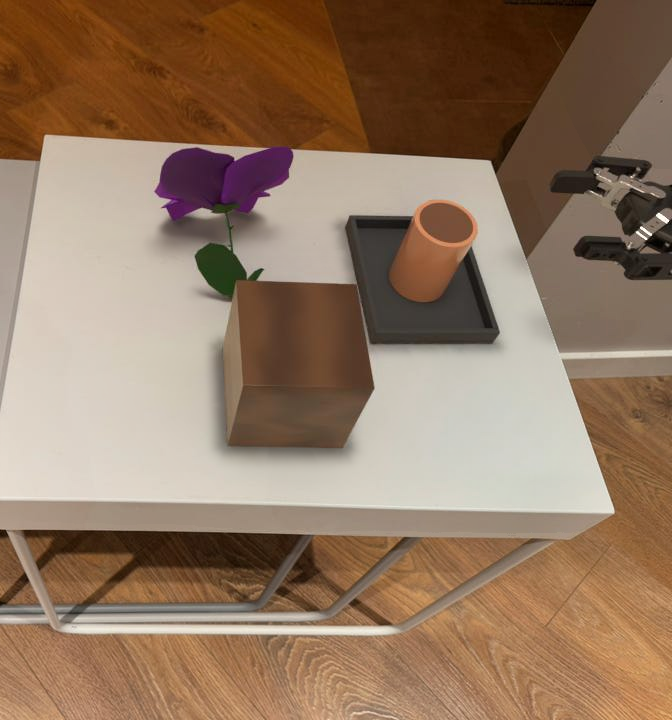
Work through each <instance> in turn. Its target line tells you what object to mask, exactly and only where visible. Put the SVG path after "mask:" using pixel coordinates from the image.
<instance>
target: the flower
mask: <svg viewBox="0 0 672 720" xmlns="http://www.w3.org/2000/svg"><path fill="white" fill-rule="evenodd" d="M293 161H294V151H293V150H292V148H291V147H288V146H285V145H284V146H283V145H282V146H272V147H270V148H265V149H262V150H259V151H256V152H251V153H249V154H246V155H244V156H242V157H240V158H238V159H236V160H235V157H234V156H232V155H231V154H230V153H229V154H228V153H222V152H215V151H211V150H208V149H204V148H201V147H198V146H197V147H195V146H194V147H187V148H181V149H179V150H177V151H174V152H172V153H171V154H170V155H169V156H168V157H166V158H165V160H164V162H163V163H162V165H161V170H160V173H159V182H158V183H157V185H156V187H155V189H154V191H153V193H154V194H156V195H157V196H158V198H160V199H164V200H169V201H168V202H166V203H165V204H164V205H163V206H161V207H160V209H166V211H167V213H168V216H169V217H170V219H171V220H172V222H173V223H175V222H176V221H178V220H181V219H182V218H183V217H185V216H186V215H188V214H190V213H193V212H195V211H197V210H199V209H205V210H209V211H210V213H212V214H217V215H221V214H224V216H225V219H226V226H227V229H228V236H229V237H228V238H229V244H228V245H227V244H226V245H225V244H221V243H216V242H215V243H214V242H208V243H207V244H206V245H204V246H203V247H201V248H199V249H198V250H197V252H196V253H195V254H194V259H195V264H196V268H197V269H198V271H199V273H200V274H201V275H202V277H203V279H204V280H205V282H206V283H207V285H208V286H210V287H211V288H212V289H213V290H215V291H216V292H217V293H219V294H220V295H221V296H226V297H227V296H228V297H233V294H234V289H235V284H236V280H247V281H258V279H259V277H260V276H261V274H262V273H263V272H264V271H265V268H263V267H260V268H258V269H256V270H254V271H253V272H252V273H251V274H250V275H249V276H248V272H247V271H246V269H245V268H244V266H243V264H242V262H241V261H240V260H239V257H238V256H237V255H236V254H235V252H234V245H233V236H232V229H233V228H235V225H231V224H230V218H229V215H228V213H231V212H233V211H235V212H237V213H242V214H249V213H250V212H251V211H253V209H254V208H255V206H256V204H257V202H258V200H259V199H260V198H267V197H271V193H269V192H266V191H269V190H271V189H274V188H276V187H278V186H282V185H283V184H285V182H286V181H287V180H289V179H290V169H291V166H292V164H293Z"/></svg>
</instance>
